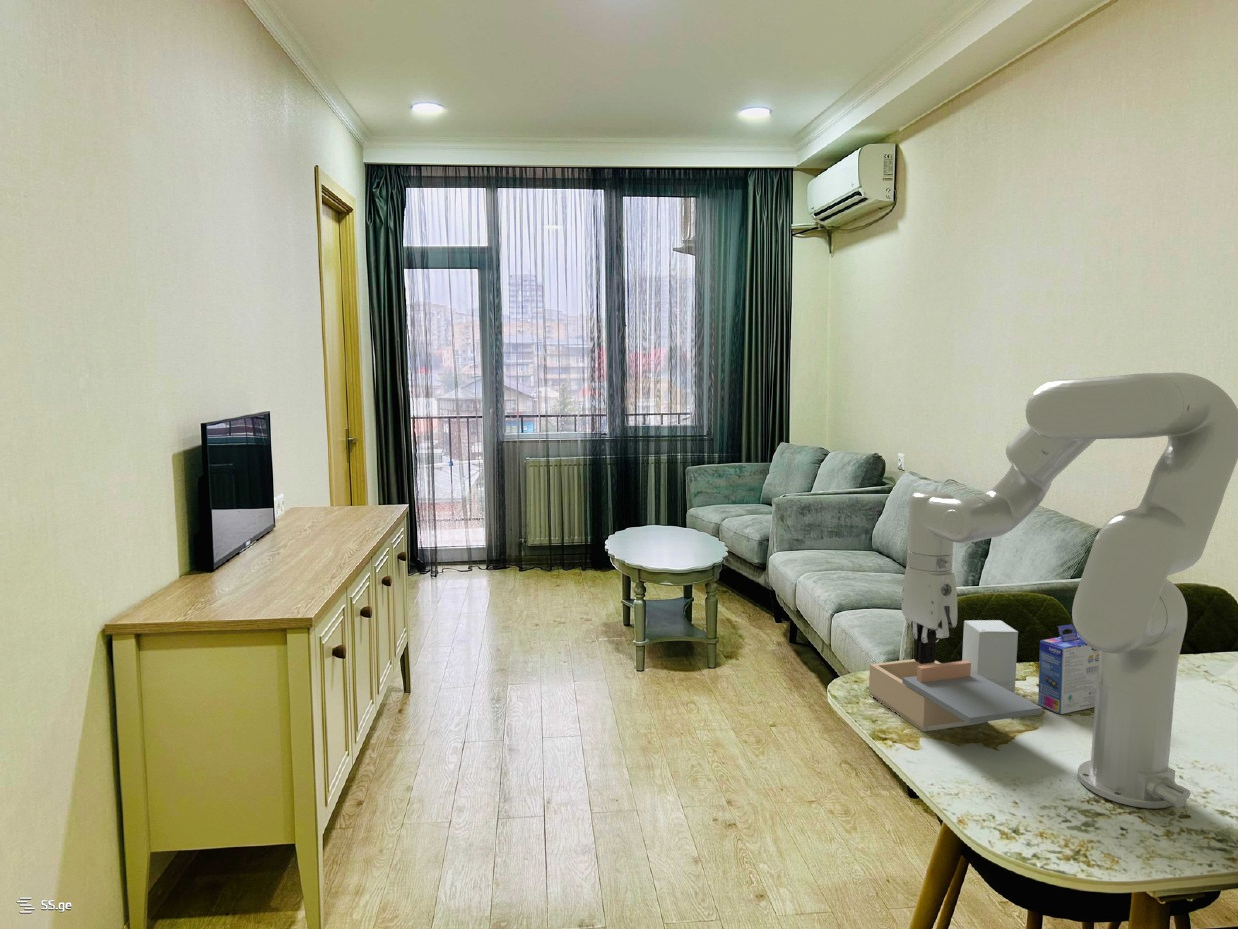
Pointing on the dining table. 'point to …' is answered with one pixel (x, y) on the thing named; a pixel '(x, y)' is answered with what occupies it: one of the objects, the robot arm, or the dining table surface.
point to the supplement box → (991, 651)
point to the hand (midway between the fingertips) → (924, 661)
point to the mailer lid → (968, 693)
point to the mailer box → (908, 696)
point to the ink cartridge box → (1067, 673)
